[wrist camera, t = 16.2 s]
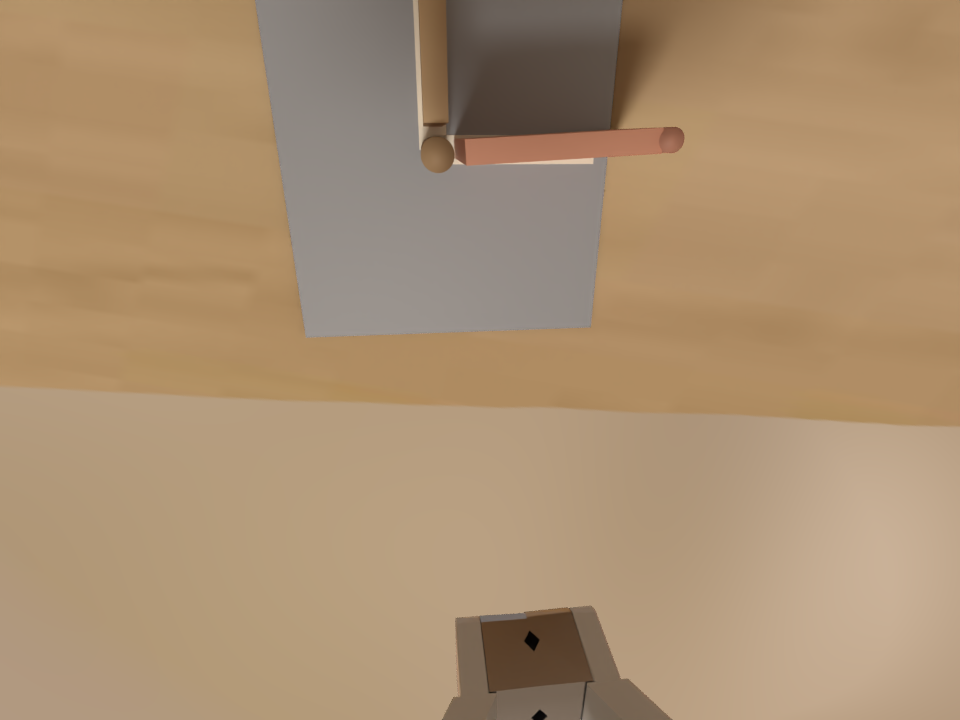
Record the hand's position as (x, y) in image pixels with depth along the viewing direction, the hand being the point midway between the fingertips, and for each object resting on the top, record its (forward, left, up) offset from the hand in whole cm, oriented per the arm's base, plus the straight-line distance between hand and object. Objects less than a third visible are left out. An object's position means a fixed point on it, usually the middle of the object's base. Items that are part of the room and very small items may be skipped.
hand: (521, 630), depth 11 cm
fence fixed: (-1, +14, -29) cm, 32 cm away
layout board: (0, +8, -29) cm, 30 cm away
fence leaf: (+6, +9, -29) cm, 31 cm away
